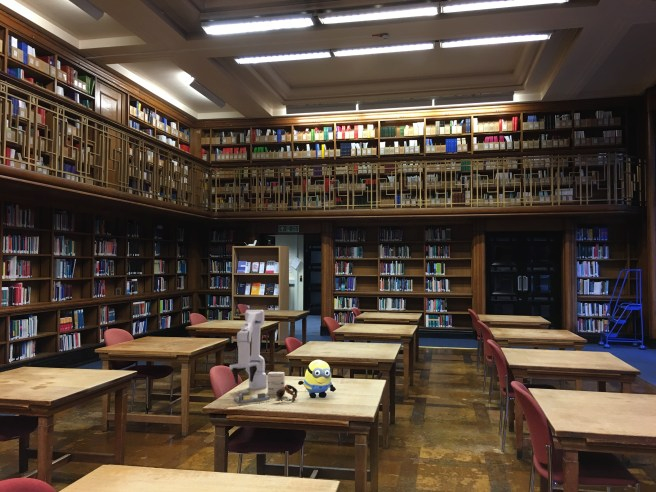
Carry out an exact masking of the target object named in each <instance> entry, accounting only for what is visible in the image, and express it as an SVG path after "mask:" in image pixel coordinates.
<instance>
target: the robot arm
mask: <svg viewBox="0 0 656 492" xmlns="http://www.w3.org/2000/svg"><path fill="white" fill-rule="evenodd" d="M244 319H245V323H244V322H243V324H242V326H241V329H240V331H237V334H236V342H237V343H236V344H237V348H238V349H237V350H238V355H237V356H238V357H237V360H238V361H237V363H234V364H229V370H230V371H231V373H232V375H233V377H234V382H235V384H236V385H237V384H239V370H238V369H245V372H246V373H247V374H248V389H250V390H259V389H264V388H265V389H266V388H268V380H267V374H266V372H265V369H266V362H265V358H264V357H263V356H262V355H260V354H261V327H262V325H265V311H264V310H263V309H246V310H245V312H244ZM250 345H251V346H250Z"/></svg>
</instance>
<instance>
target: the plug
mask: <svg viewBox="0 0 656 492" xmlns="http://www.w3.org/2000/svg"><path fill="white" fill-rule="evenodd" d="M238 392H239V397H238V399H239V400H243V396H245V395H250V391H249V390H247V389H242V390H238Z"/></svg>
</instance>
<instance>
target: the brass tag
mask: <svg viewBox="0 0 656 492" xmlns="http://www.w3.org/2000/svg"><path fill="white" fill-rule="evenodd" d="M251 396H252V395H251V394H249V395H245V396H243V400H249V399H251Z"/></svg>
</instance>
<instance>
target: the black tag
mask: <svg viewBox="0 0 656 492" xmlns="http://www.w3.org/2000/svg"><path fill="white" fill-rule="evenodd" d="M265 394H266V393H265V392H261V393H260V392H259V393H257V398H264V397H265Z"/></svg>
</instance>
